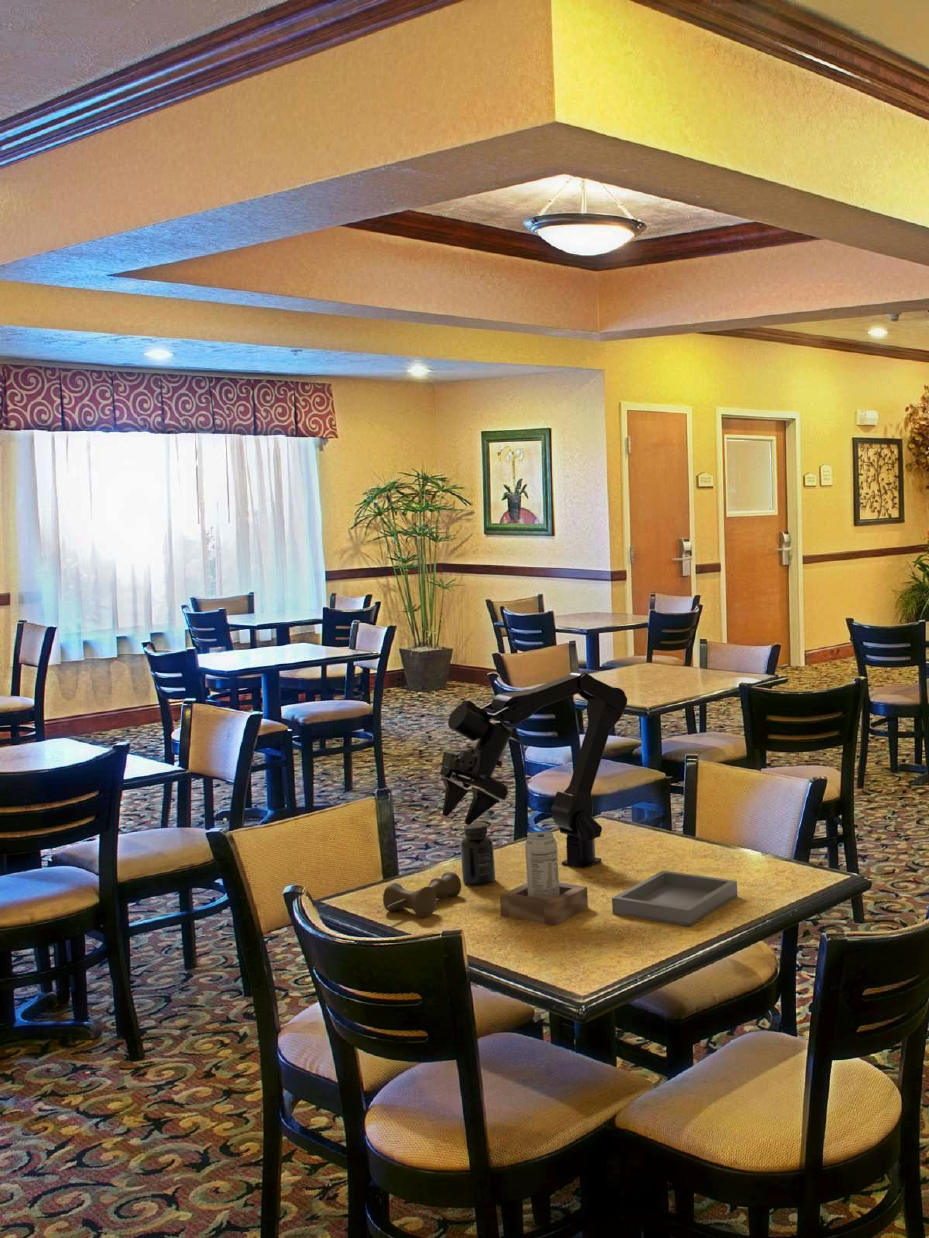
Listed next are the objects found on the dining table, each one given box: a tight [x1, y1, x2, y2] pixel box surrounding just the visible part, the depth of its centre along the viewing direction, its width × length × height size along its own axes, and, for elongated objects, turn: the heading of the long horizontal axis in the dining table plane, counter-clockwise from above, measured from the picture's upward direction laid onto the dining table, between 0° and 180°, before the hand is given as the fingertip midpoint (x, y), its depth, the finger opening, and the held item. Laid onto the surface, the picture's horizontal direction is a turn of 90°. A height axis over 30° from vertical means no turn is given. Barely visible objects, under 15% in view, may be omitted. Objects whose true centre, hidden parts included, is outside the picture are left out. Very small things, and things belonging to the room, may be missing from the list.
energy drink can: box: [524, 830, 560, 900], centre depth 236 cm, size 6×6×15 cm
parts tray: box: [611, 870, 738, 928], centre depth 237 cm, size 20×16×3 cm
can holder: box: [499, 882, 589, 927], centre depth 237 cm, size 12×12×4 cm
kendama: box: [382, 871, 462, 919], centre depth 244 cm, size 6×10×20 cm
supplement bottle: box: [459, 822, 496, 887], centre depth 258 cm, size 7×7×12 cm
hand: (455, 819), depth 252 cm, fingers open, 9 cm apart
